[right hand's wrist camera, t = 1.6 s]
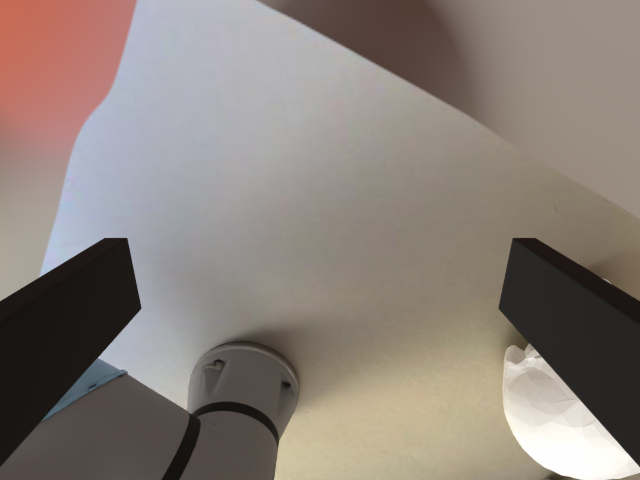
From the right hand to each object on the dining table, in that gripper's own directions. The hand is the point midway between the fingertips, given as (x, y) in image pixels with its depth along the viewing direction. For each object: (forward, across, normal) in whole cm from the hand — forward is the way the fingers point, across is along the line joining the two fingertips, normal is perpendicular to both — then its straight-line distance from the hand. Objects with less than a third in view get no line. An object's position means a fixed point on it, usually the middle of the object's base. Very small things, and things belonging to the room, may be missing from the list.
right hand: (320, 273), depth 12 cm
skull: (+29, -30, +24) cm, 48 cm away
